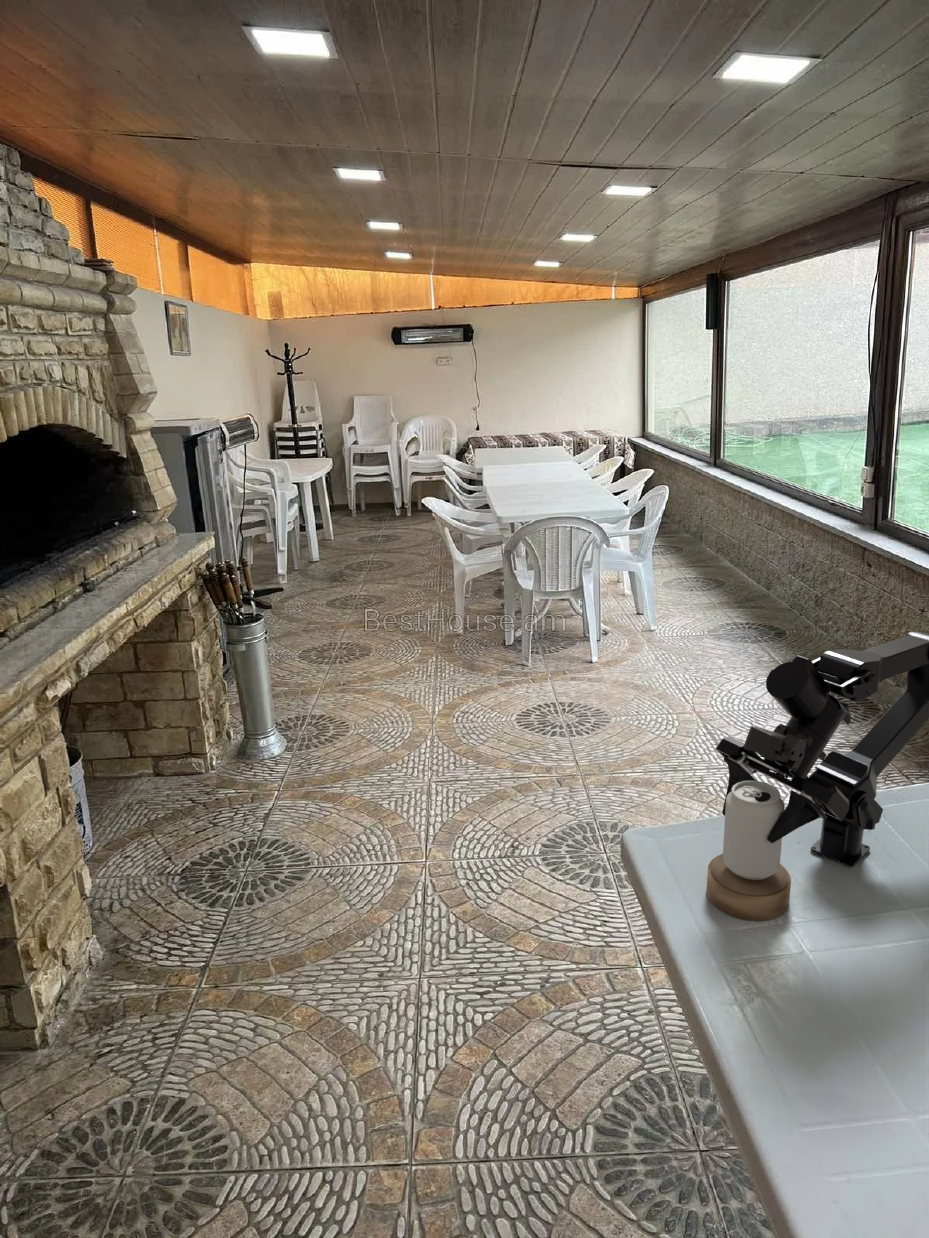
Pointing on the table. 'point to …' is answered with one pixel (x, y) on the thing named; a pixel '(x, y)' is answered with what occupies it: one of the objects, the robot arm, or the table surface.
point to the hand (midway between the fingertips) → (746, 828)
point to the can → (752, 830)
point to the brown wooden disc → (748, 893)
